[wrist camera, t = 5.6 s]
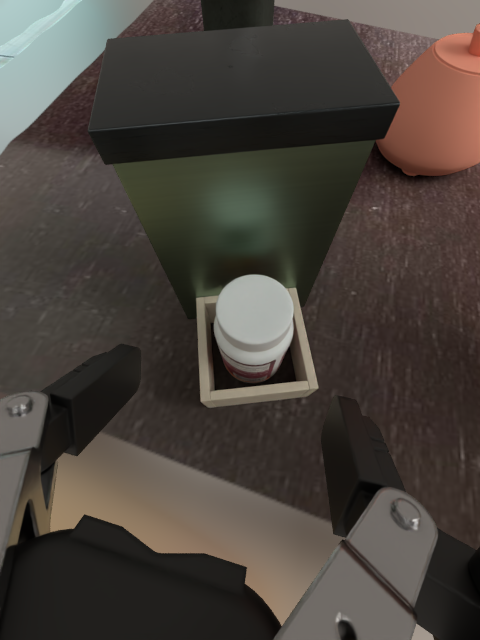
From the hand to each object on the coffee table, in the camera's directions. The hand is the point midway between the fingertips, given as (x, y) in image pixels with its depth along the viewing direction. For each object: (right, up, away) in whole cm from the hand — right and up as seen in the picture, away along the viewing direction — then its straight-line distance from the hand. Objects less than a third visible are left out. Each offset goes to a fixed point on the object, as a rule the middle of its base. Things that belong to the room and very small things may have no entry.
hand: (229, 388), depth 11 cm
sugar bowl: (+22, +22, +20) cm, 37 cm away
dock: (+1, 0, +10) cm, 10 cm away
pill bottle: (+1, 0, +11) cm, 11 cm away
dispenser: (+1, +6, +13) cm, 14 cm away
